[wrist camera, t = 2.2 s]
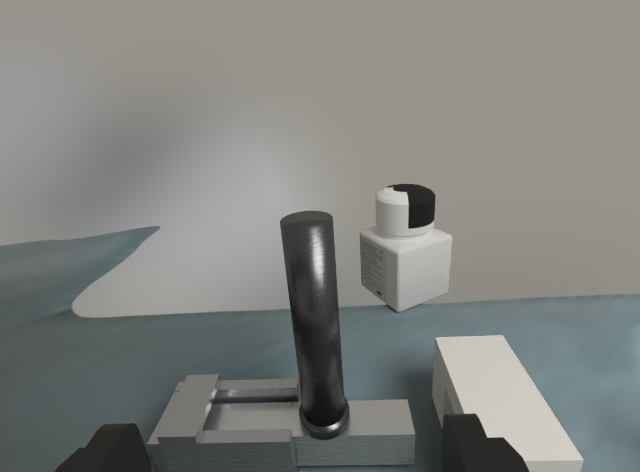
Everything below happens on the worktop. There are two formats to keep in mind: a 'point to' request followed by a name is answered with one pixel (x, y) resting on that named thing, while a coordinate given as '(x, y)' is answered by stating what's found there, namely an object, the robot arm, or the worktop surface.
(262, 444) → the sleeve
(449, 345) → the socket block
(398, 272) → the container
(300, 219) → the tube
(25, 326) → the worktop surface
